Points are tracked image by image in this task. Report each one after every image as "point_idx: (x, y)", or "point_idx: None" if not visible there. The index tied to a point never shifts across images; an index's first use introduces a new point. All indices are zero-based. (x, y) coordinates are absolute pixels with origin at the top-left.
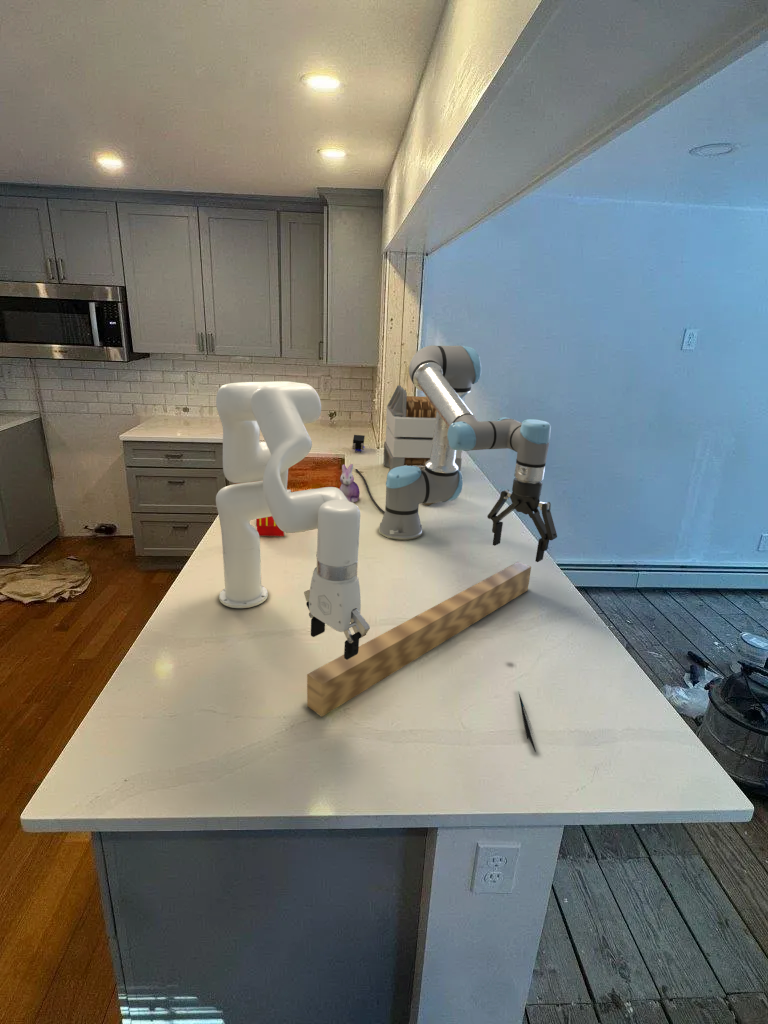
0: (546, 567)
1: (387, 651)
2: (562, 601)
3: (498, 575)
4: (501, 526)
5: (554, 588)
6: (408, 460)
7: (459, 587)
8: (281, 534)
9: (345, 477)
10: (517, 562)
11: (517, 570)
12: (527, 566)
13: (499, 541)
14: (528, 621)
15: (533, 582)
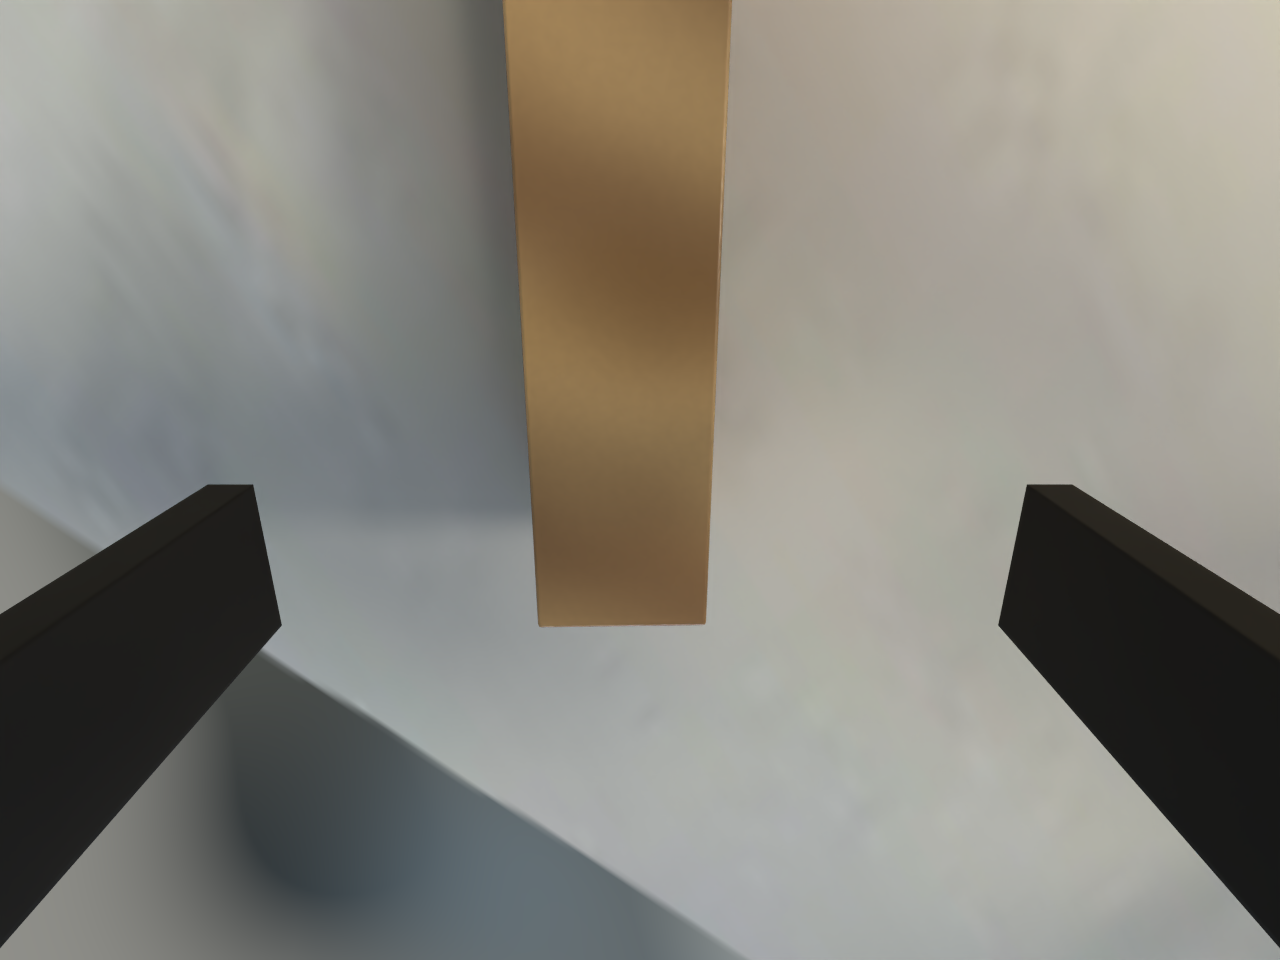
0: (666, 882)
1: None
2: (288, 552)
3: (667, 116)
4: (1243, 858)
5: (450, 677)
6: None
7: (1030, 98)
8: None
9: None
10: (697, 609)
11: (583, 437)
12: (568, 604)
13: (1021, 626)
14: (216, 13)
15: (606, 650)
